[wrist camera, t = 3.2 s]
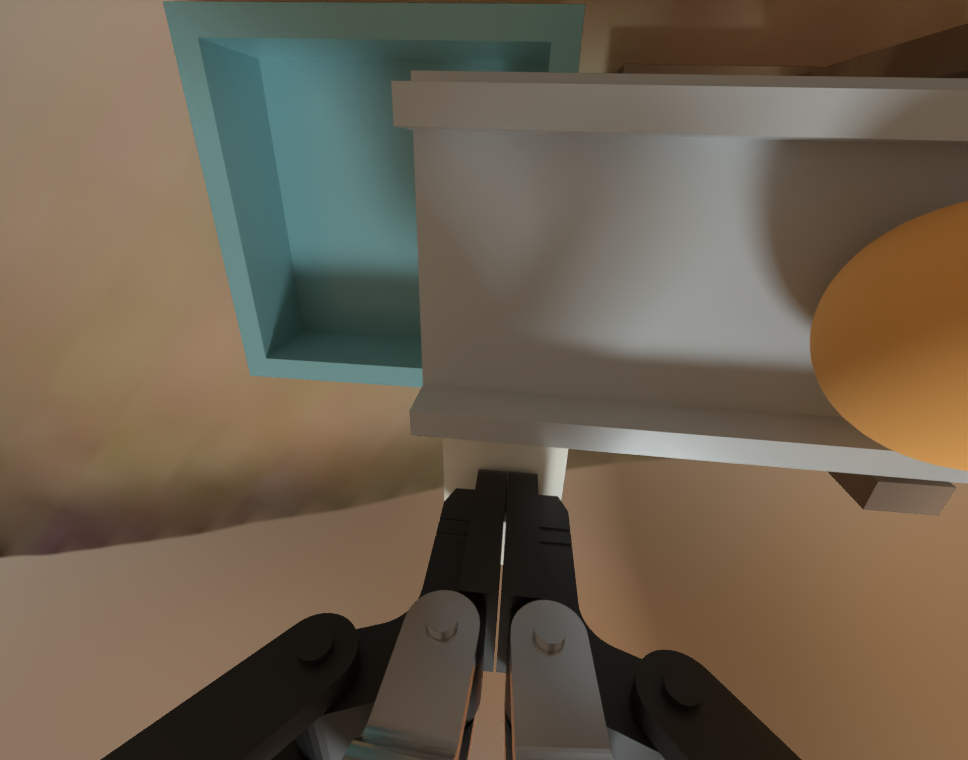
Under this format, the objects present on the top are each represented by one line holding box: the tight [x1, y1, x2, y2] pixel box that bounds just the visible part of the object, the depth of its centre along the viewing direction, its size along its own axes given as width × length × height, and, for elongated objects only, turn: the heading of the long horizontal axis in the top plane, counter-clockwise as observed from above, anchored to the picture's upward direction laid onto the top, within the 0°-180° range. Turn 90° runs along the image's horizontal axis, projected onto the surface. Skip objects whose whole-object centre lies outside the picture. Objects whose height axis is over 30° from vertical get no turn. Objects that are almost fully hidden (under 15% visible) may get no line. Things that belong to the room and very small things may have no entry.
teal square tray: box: [163, 1, 585, 387], centre depth 16 cm, size 12×12×4 cm
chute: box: [391, 70, 968, 565], centre depth 12 cm, size 17×12×10 cm
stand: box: [619, 24, 968, 516], centre depth 13 cm, size 12×10×10 cm
